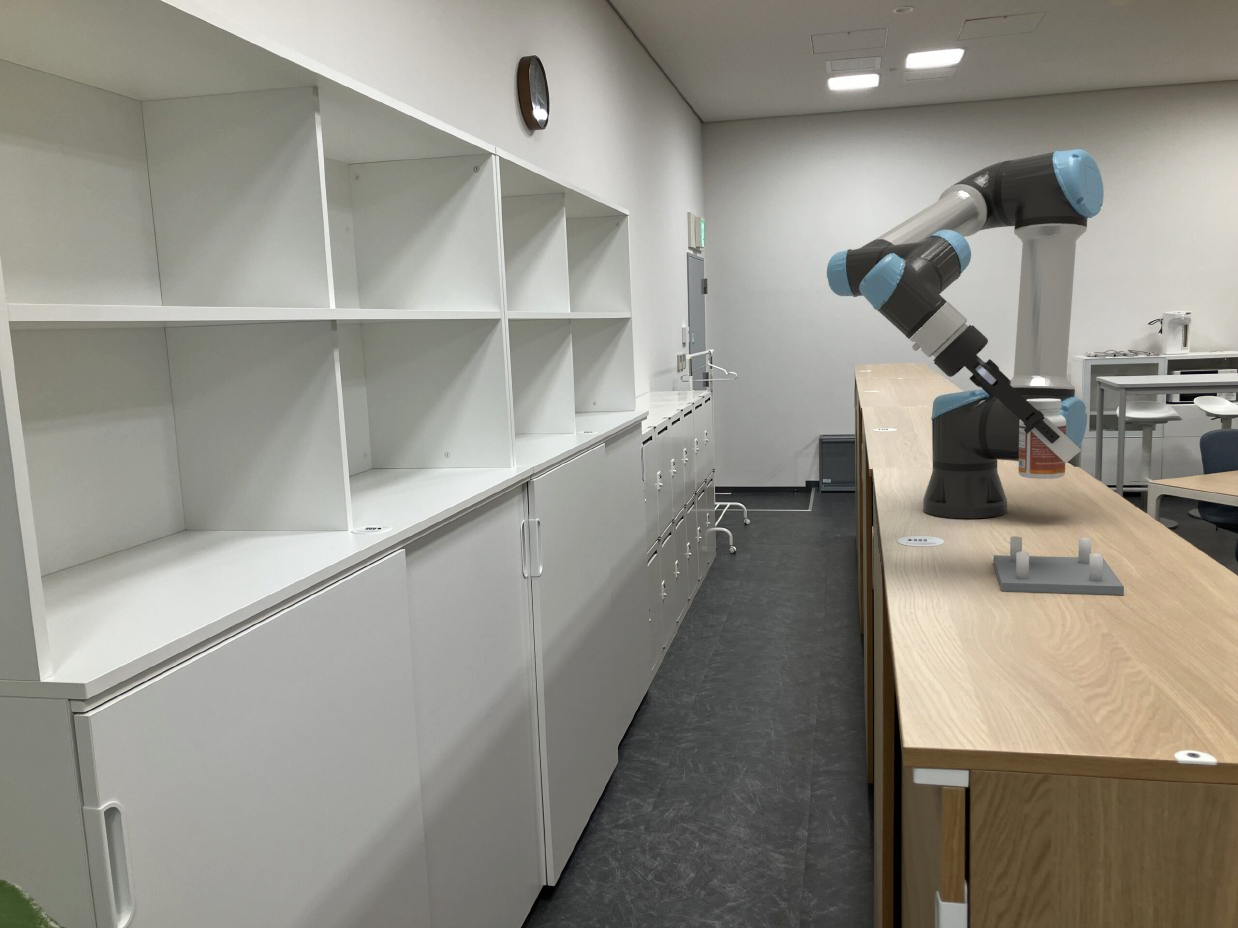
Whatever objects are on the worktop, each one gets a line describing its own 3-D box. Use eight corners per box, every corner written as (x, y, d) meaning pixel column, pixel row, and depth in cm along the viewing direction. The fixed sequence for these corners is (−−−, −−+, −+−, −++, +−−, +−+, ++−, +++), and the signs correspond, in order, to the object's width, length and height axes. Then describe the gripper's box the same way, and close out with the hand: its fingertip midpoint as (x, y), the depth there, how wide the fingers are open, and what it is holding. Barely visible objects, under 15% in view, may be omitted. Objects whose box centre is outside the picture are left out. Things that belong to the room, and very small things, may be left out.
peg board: (993, 562, 142) (993, 532, 141) (1102, 565, 137) (1103, 534, 137) (1001, 591, 128) (1001, 557, 127) (1123, 595, 123) (1124, 560, 123)
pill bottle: (1074, 476, 133) (1076, 399, 132) (1048, 481, 130) (1050, 402, 129) (1034, 471, 139) (1036, 397, 137) (1008, 476, 135) (1010, 400, 134)
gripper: (931, 357, 146) (1042, 461, 143) (930, 362, 128) (1057, 482, 125) (967, 322, 144) (1081, 427, 140) (971, 322, 126) (1102, 442, 123)
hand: (1069, 452), depth 133 cm, fingers closed on pill bottle, 6 cm apart
